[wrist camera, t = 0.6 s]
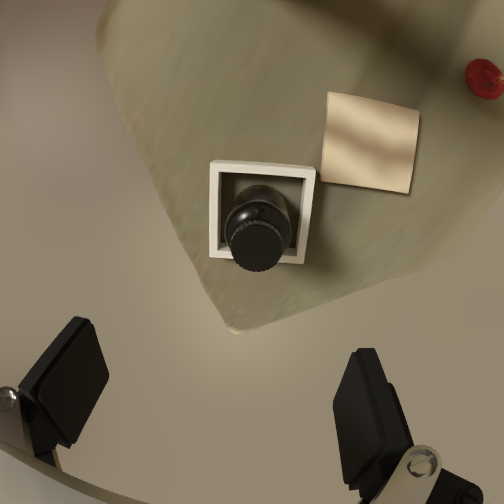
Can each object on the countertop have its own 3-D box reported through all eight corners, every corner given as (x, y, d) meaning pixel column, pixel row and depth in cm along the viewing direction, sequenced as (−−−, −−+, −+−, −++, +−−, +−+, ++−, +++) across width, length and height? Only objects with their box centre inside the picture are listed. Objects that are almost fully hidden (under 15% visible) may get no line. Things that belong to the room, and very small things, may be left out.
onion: (467, 105, 28) (502, 108, 20) (448, 68, 26) (482, 64, 19) (488, 91, 26) (523, 92, 19) (470, 56, 24) (505, 51, 17)
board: (327, 92, 30) (329, 91, 29) (416, 111, 29) (419, 111, 29) (319, 179, 35) (320, 181, 34) (405, 191, 34) (408, 193, 33)
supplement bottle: (287, 233, 38) (293, 282, 27) (235, 234, 39) (221, 283, 28) (287, 182, 35) (294, 212, 24) (231, 183, 36) (214, 214, 25)
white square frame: (214, 159, 34) (210, 162, 32) (312, 166, 34) (315, 170, 32) (213, 248, 40) (209, 256, 37) (301, 255, 39) (303, 264, 37)
